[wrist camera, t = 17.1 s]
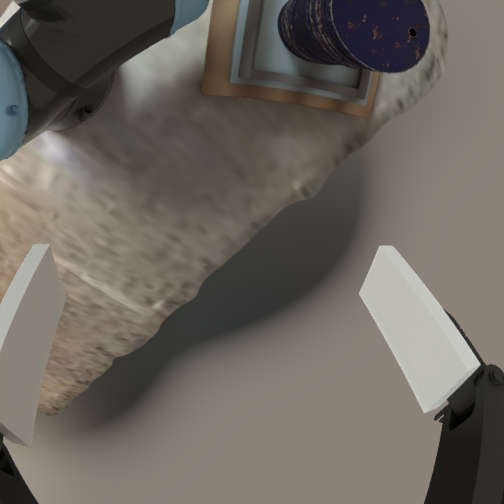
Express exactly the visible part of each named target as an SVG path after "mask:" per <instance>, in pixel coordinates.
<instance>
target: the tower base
mask: <svg viewBox="0 0 504 504" xmlns="http://www.w3.org/2000/svg"><path fill="white" fill-rule="evenodd" d="M288 1H289V0H213V4H212V11H211V18H210V25H209V32H208V39H207V47H206V55H205V63H204V72H203V81H202V91H201V92H202V95H217V96H231V97H243V98H253V99H262V100H271V101H278V102H286V103H292V104H299V105H305V106H311V107H317V108H322V109H327V110H332V111H337V112H342V113H347V114H351V115H356V116H360V117H364V118H368V119H370V115H371V110H372V106H373V101H374V97H375V92H376V87H377V82H378V77H379V72H377V71H374V72H373V71H365V70H360V69H353V68H349V67H346V66H343V65H322V64H317V63H312V62H308V61H305V60H302V59H300V58H298V57H297V56H295V55H294V54H292V53H291V52H290V51H289V50H288V49H287V48H286V47H285V45H284V44H283V42H282V40H281V38H280V36H279V33H278V27H277V21H278V16H279V13H280V11H281V9H282V7H283V6H284V5H285V3H286V2H288Z"/></svg>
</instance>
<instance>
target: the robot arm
mask: <svg viewBox="0 0 504 504" xmlns="http://www.w3.org/2000/svg"><path fill="white" fill-rule="evenodd" d="M13 1H14V2H15V3H16V4H17V5H19V6H20V7H21V8H20V9H19V10H18V11H17V12H16V13H15V14H14V15H13V16H12V17H11V18H10V19H9V20H8V21H7V22H6V23H5V24H4V25H3V26H2V27H1V28H0V161H1V160H3V159H8V158H9V157H11V156H12V155H14V154H15V153H16V152H17V150H18V149H19V148H21V147H22V146H23V145H25V144H26V143H28V142H29V141H31V140H32V139H34V138H35V137H37V136H38V135H40V134H41V133H43V132H45V131H46V130H53V131H59V130H65V129H69V128H72V127H75V126H77V125H79V124H81V123H82V122H84V121H85V120H87V119H88V118H90V117H91V116H92V115H93V114H95V113H96V112H97V111H98V109H99V108H100V107H101V106H102V104H103V103H104V101H105V100H106V98H107V96H108V94H109V92H110V89H111V86H112V82H113V77H114V70H115V69H116V68H118V67H119V66H121V65H122V64H124V63H125V62H126V61H128V60H130V59H131V58H133V57H134V56H136V55H137V54H139V53H140V52H142V51H144V50H145V49H147V48H149V47H150V46H152V45H154V44H155V43H157V42H159V41H160V40H162V39H166V38H169V37H171V35H173V34H174V33H175V32H176V31H177V30H178V29H180V28H182V27H184V26H185V25H187V24H189V23H191V22H192V21H194V20H196V19H198V18H199V17H200V16H201V15H202V14H203V13H204V11H205V10H206V9H207V7H208V4H209V0H13ZM359 295H360V296H361V298H362V300H363V301H364V303H365V305H366V306H367V308H368V310H369V312H370V313H371V315H372V317H373V318H374V320H375V322H376V324H377V325H378V327H379V329H380V331H381V332H382V334H383V336H384V338H385V340H386V341H387V343H388V345H389V347H390V349H391V350H392V352H393V354H394V356H395V358H396V360H397V362H398V363H399V365H400V367H401V369H402V371H403V373H404V374H405V377H406V379H407V380H408V382H409V384H410V386H411V388H412V390H413V392H414V394H415V396H416V398H417V400H418V402H419V404H420V406H421V408H422V410H423V412H424V413H426V412H429V411H431V410H433V409H435V408H438V407H439V406H440V405H441V404H442V403H443V402H444V401H445V400H448V402H449V404H448V405H447V406H445V407H444V408H443V409H442V410H441V411H440V412H439V413H438V414H437V415H436V416H435V418H434V420H437V419H438V418H440V417H441V416H442V415H443V414H444V416H443V417H442V418H441V419H440V420H439V422H441V423H443V425H442V431H441V437H440V442H439V447H438V452H437V457H436V461H435V465H434V470H433V474H432V477H431V481H430V485H429V488H428V492H427V496H426V499H425V502H424V504H504V373H503V371H502V370H501V369H500V368H499V367H497V366H496V365H492V364H490V365H487V366H486V364H485V363H484V362H483V360H482V359H481V357H480V356H479V354H478V353H477V351H476V349H475V348H474V346H473V345H472V343H471V342H470V341H469V339H468V338H467V337H466V336H465V333H464V332H463V331H462V329H460V326H459V325H458V323H457V322H456V320H455V319H454V318H453V317H452V316H451V315H450V314H449V313H448V312H447V311H445V310H444V309H443V308H442V307H441V306H440V304H439V303H438V302H437V301H436V299H435V298H434V297H433V295H432V294H431V293H430V291H429V290H428V289H427V287H426V286H425V285H424V283H423V282H422V281H421V280H420V278H419V277H418V276H417V275H416V273H415V272H414V271H413V270H412V269H411V267H410V266H409V265H408V263H407V262H406V261H405V260H404V259H403V257H402V256H401V255H400V254H399V253H398V251H397V250H396V249H395V248H394V247H393V246H379V248H378V251H377V253H376V256H375V258H374V260H373V263H372V265H371V268H370V270H369V272H368V275H367V277H366V279H365V281H364V284H363V286H362V288H361V290H360V293H359ZM65 302H66V296H65V293H64V290H63V287H62V284H61V281H60V278H59V275H58V272H57V268H56V265H55V261H54V258H53V254H52V251H51V247H50V244H33V246H32V248H31V249H30V251H29V253H28V254H27V256H26V258H25V259H24V261H23V263H22V264H21V266H20V268H19V270H18V272H17V273H16V275H15V277H14V279H13V281H12V283H11V284H10V286H9V288H8V290H7V292H6V294H5V296H4V298H3V300H2V302H1V304H0V504H38V502H37V501H36V499H35V498H34V496H33V495H32V493H31V491H30V490H29V488H28V486H27V485H26V483H25V481H24V480H23V478H22V476H21V474H20V473H19V471H18V469H17V467H16V466H15V463H14V461H13V460H12V458H11V456H10V454H9V452H8V450H7V448H6V446H5V445H4V443H3V436H5V437H6V438H7V439H8V440H10V441H11V442H12V443H16V444H19V445H23V446H27V447H31V446H32V438H33V431H34V424H35V418H36V412H37V407H38V401H39V396H40V391H41V387H42V382H43V378H44V374H45V369H46V365H47V361H48V358H49V354H50V350H51V346H52V343H53V339H54V336H55V333H56V329H57V326H58V323H59V320H60V317H61V313H62V310H63V307H64V305H65Z"/></svg>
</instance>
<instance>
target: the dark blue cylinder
mask: <svg viewBox="0 0 504 504" xmlns="http://www.w3.org/2000/svg"><path fill="white" fill-rule="evenodd" d="M277 27H278V33H279V36H280V38H281V40H282V42H283V44H284V45H285V47H286V48H287V49H288V50H289V51H290V52H291V53H292V54H294V55H295V56H297V57H298V58H300V59H302V60H305V61H308V62H312V63H317V64H322V65H343V66H346V67H349V68H353V69H360V70H365V71H373V72H374V71H377V72H381V73H388V74H396V73H402V72H405V71H407V70H410V69H411V68H413V67H414V66H416V65H417V64H418V63H419V62H420V61H421V59H422V58H423V57H424V55H425V53H426V51H427V49H428V45H429V41H430V23H429V18H428V14H427V11H426V9H425V6H424V4H423V2H422V1H421V0H289V1H288V2H286V3H285V5H284V6H283V7H282V9H281V11H280V13H279V16H278V21H277Z"/></svg>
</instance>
